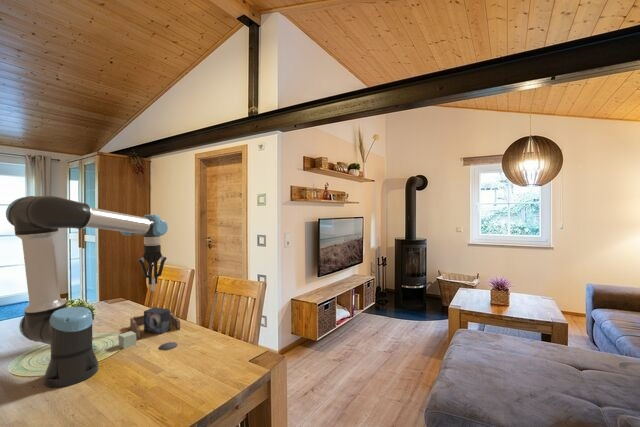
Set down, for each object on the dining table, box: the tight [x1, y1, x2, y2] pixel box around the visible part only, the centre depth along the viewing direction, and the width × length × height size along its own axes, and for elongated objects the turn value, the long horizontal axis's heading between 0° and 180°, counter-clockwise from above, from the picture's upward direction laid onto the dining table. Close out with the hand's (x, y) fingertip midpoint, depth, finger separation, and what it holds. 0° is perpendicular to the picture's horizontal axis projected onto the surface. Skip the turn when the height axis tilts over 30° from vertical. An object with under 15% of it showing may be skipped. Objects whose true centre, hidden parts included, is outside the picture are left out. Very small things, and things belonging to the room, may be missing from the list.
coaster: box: [159, 341, 178, 351], centre depth 132 cm, size 7×7×1 cm
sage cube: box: [118, 330, 137, 349], centre depth 134 cm, size 5×5×5 cm
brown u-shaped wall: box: [129, 310, 181, 341], centre depth 153 cm, size 20×18×4 cm
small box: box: [143, 306, 171, 336], centre depth 149 cm, size 11×6×10 cm, turn 73°
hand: (153, 290), depth 156 cm, fingers closed
